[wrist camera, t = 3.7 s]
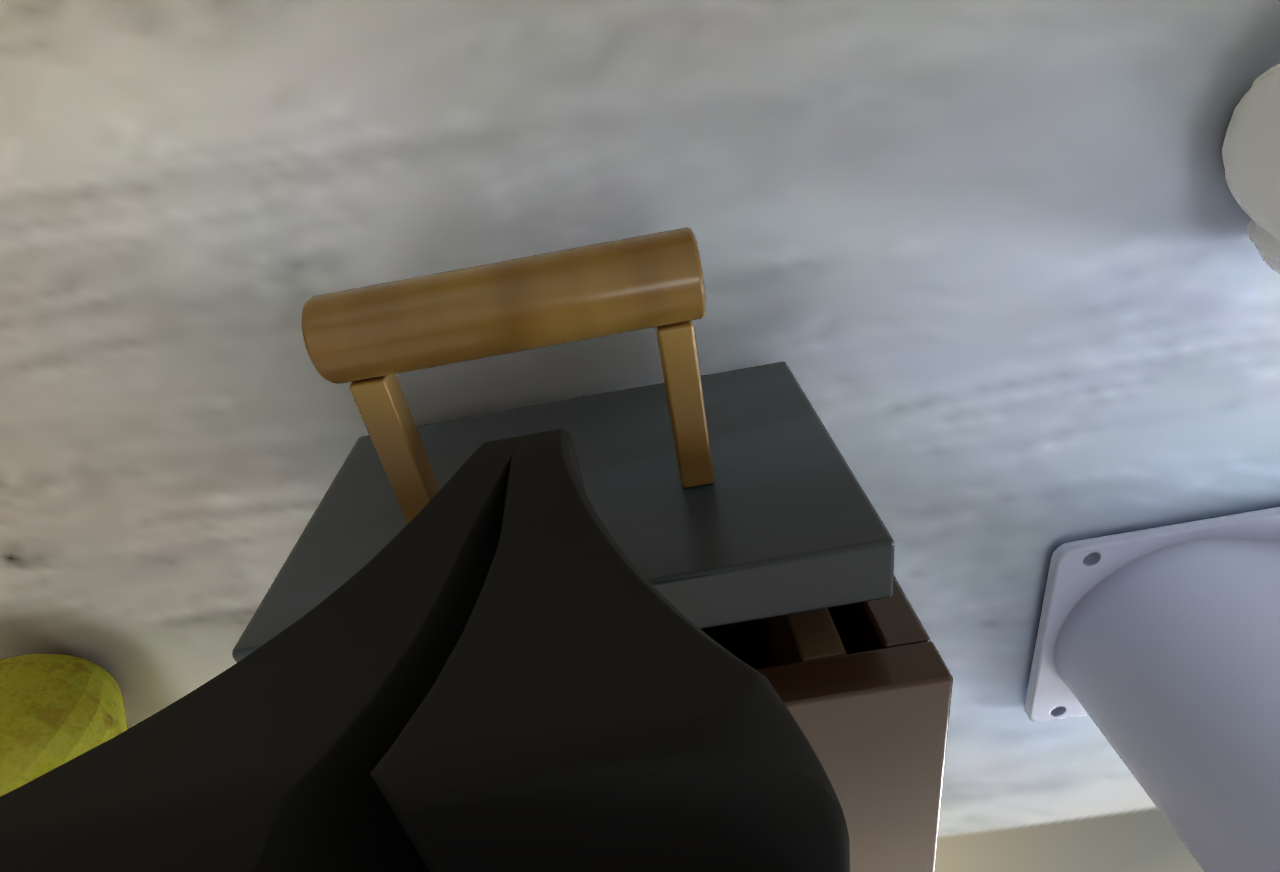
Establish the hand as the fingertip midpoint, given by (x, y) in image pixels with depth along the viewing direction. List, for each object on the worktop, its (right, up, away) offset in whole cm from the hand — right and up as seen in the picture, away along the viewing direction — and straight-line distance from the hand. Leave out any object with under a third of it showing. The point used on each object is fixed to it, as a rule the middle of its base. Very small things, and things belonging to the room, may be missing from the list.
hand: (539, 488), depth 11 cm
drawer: (+1, -2, +8) cm, 8 cm away
